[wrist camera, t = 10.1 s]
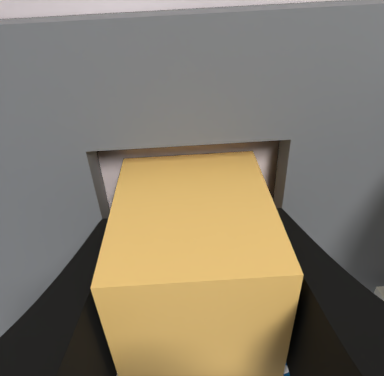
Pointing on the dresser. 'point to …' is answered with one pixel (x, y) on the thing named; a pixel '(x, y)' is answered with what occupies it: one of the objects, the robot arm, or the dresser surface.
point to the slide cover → (379, 292)
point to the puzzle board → (190, 121)
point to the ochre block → (196, 269)
